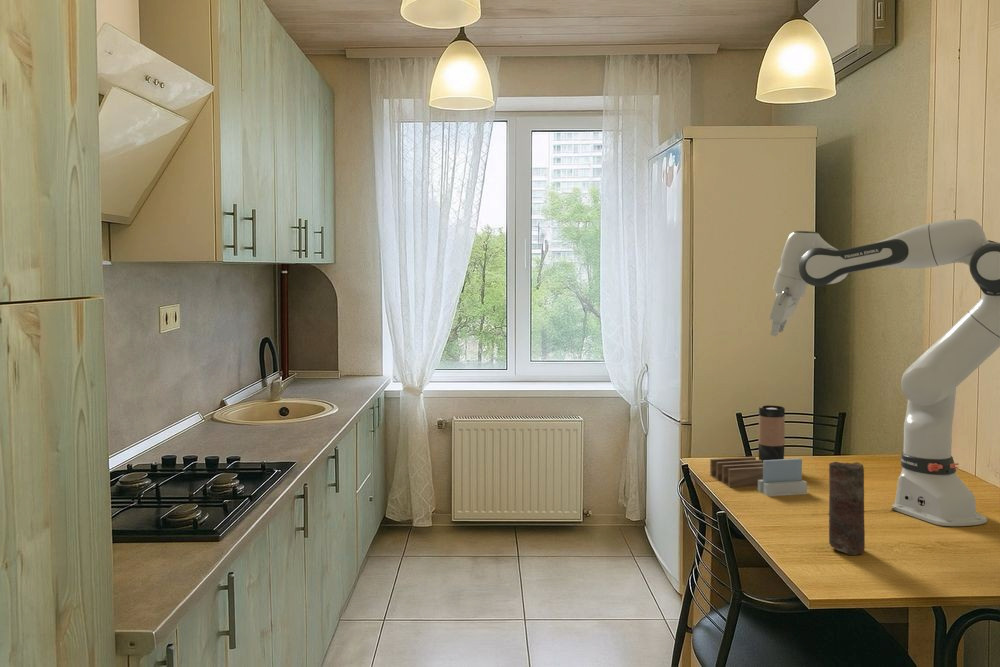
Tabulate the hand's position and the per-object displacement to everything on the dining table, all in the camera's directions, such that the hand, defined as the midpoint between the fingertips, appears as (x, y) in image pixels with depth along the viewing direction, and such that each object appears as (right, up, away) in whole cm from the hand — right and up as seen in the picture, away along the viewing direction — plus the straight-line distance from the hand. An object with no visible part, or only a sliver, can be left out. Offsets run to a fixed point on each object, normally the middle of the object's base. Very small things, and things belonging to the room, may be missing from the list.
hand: (776, 333), depth 231 cm
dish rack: (-8, -44, +7) cm, 45 cm away
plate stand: (-1, -45, -6) cm, 45 cm away
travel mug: (+5, -43, +20) cm, 48 cm away
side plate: (-1, -44, -6) cm, 44 cm away
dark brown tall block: (-1, -49, -49) cm, 69 cm away
